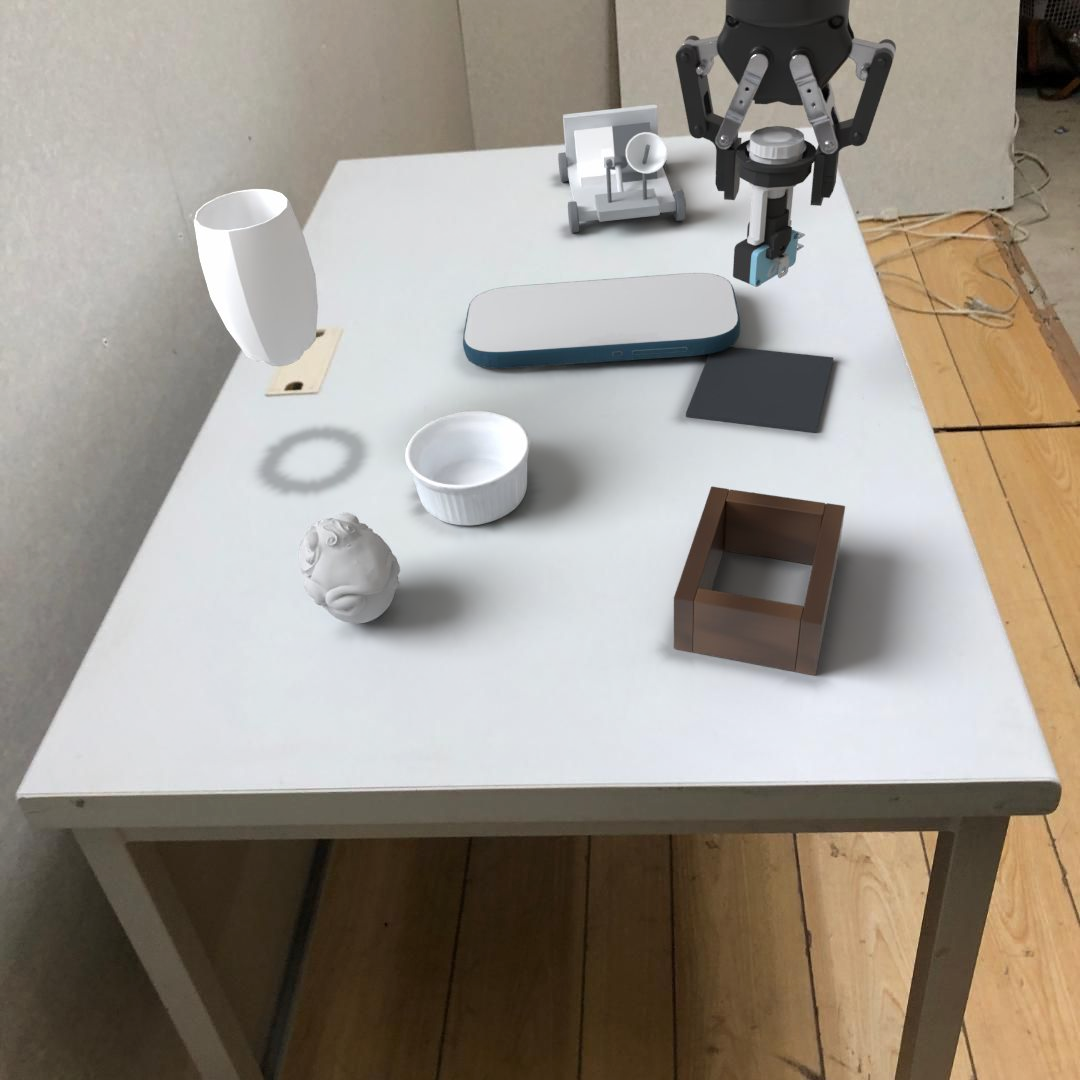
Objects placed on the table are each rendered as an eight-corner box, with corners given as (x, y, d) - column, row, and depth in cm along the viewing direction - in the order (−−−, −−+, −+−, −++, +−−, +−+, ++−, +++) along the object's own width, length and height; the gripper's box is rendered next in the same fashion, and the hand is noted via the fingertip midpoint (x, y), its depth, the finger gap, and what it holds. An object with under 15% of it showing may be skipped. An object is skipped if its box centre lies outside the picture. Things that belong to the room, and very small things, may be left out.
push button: (771, 241, 81) (782, 108, 74) (829, 263, 78) (846, 127, 71) (714, 274, 78) (720, 139, 71) (772, 298, 75) (784, 160, 68)
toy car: (691, 139, 98) (567, 153, 99) (690, 237, 105) (573, 250, 105) (661, 72, 112) (552, 85, 112) (662, 163, 118) (559, 175, 119)
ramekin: (546, 461, 81) (542, 414, 78) (516, 539, 74) (510, 491, 71) (436, 451, 83) (428, 405, 80) (398, 526, 76) (387, 479, 73)
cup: (367, 430, 86) (307, 182, 72) (349, 487, 80) (281, 232, 66) (280, 432, 86) (204, 188, 72) (257, 490, 81) (170, 238, 67)
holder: (838, 556, 70) (845, 505, 67) (815, 676, 63) (822, 624, 60) (709, 536, 73) (711, 486, 70) (673, 649, 66) (673, 597, 63)
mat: (833, 361, 87) (833, 357, 87) (815, 433, 80) (816, 428, 80) (712, 348, 90) (712, 344, 90) (685, 416, 83) (685, 412, 83)
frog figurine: (367, 561, 74) (346, 484, 69) (430, 610, 70) (412, 531, 65) (294, 608, 71) (267, 530, 66) (355, 662, 67) (331, 583, 62)
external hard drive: (730, 289, 96) (730, 269, 95) (743, 358, 88) (744, 337, 86) (473, 307, 99) (470, 288, 97) (461, 376, 90) (458, 356, 89)
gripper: (658, -56, 63) (661, 215, 74) (913, -58, 58) (875, 230, 70) (687, -88, 68) (685, 170, 79) (923, -92, 63) (886, 181, 75)
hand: (774, 197), depth 74 cm, fingers closed on push button, 5 cm apart
